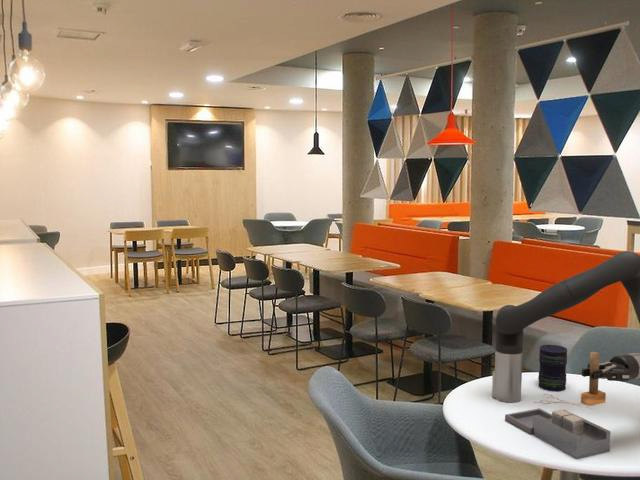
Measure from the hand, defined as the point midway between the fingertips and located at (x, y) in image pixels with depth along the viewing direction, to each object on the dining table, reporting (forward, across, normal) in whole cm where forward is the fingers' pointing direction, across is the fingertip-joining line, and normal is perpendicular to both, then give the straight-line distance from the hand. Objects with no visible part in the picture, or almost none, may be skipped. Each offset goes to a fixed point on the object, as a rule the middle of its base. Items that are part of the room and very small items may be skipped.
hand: (586, 374), depth 182 cm
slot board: (+2, -4, +22) cm, 22 cm away
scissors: (-22, -29, +23) cm, 43 cm away
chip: (+2, -3, +18) cm, 18 cm away
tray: (+1, -19, +22) cm, 29 cm away
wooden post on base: (-3, 0, +9) cm, 9 cm away
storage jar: (-29, -43, +22) cm, 57 cm away
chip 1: (+2, -7, +18) cm, 19 cm away
